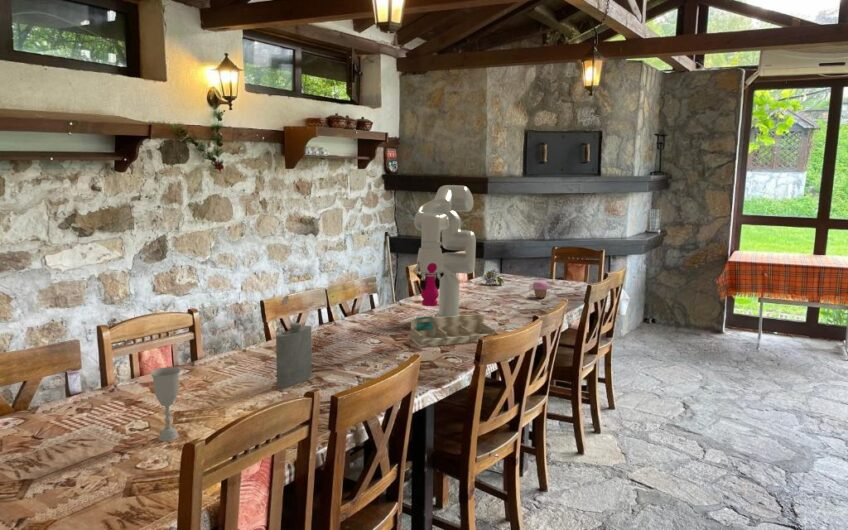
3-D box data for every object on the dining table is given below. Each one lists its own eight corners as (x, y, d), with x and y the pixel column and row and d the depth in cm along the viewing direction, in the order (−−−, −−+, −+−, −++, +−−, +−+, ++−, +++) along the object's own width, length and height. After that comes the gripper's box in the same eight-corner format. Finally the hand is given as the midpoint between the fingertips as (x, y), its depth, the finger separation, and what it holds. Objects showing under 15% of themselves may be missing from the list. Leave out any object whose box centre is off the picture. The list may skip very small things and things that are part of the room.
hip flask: (306, 374, 219) (305, 318, 216) (315, 376, 217) (315, 319, 214) (274, 387, 205) (273, 327, 202) (284, 390, 203) (283, 329, 200)
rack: (420, 347, 255) (421, 324, 253) (410, 339, 266) (411, 317, 264) (494, 340, 267) (495, 318, 265) (482, 333, 278) (482, 312, 276)
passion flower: (488, 293, 394) (478, 277, 395) (496, 288, 402) (486, 272, 403) (501, 285, 387) (490, 269, 388) (509, 280, 395) (498, 264, 396)
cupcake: (550, 297, 359) (551, 279, 357) (544, 299, 351) (545, 282, 350) (535, 295, 363) (536, 278, 362) (529, 297, 356) (530, 280, 355)
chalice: (173, 429, 172) (170, 365, 169) (188, 435, 168) (185, 370, 165) (148, 438, 166) (144, 372, 163) (163, 445, 162) (160, 377, 159)
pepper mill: (436, 307, 255) (437, 257, 252) (419, 306, 257) (419, 257, 254) (440, 303, 262) (440, 255, 259) (422, 302, 264) (423, 255, 261)
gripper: (446, 243, 263) (445, 286, 265) (407, 244, 256) (406, 288, 259) (453, 245, 256) (452, 289, 258) (413, 246, 249) (413, 291, 252)
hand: (429, 288), depth 259 cm, fingers closed on pepper mill, 5 cm apart
